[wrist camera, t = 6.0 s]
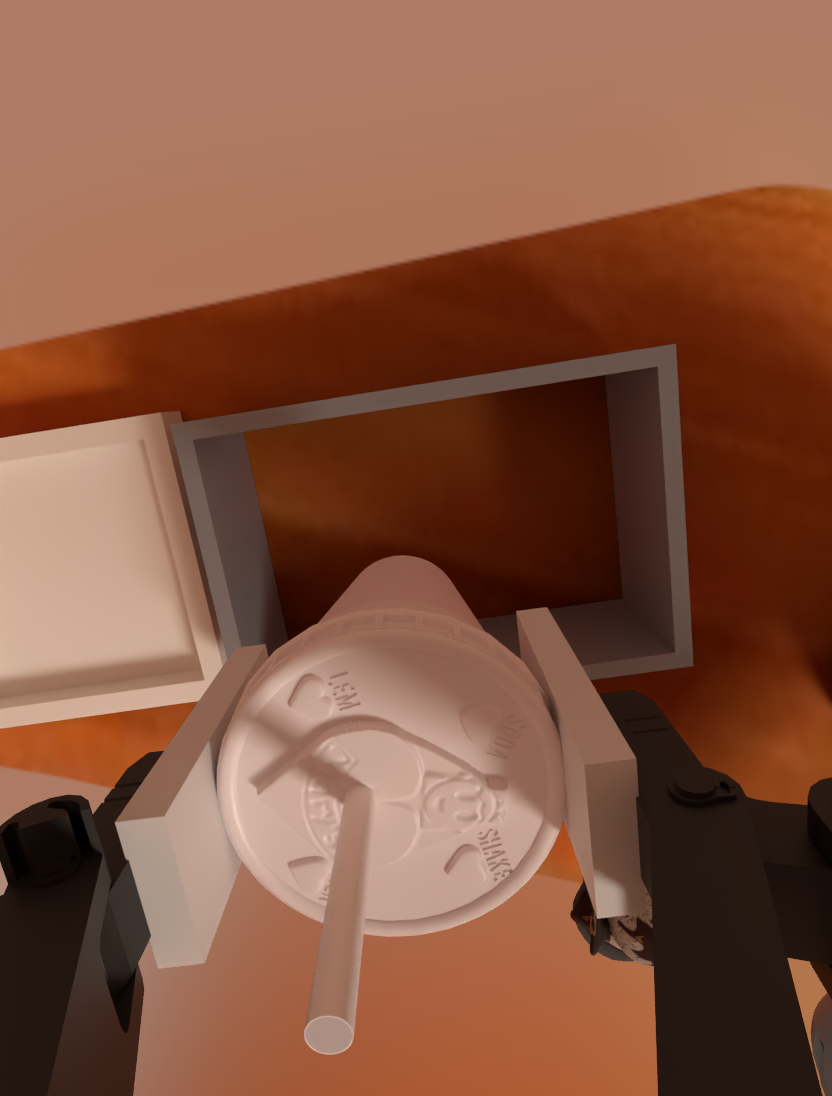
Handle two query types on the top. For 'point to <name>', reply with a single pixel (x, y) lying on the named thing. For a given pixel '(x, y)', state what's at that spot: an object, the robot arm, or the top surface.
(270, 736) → the smoothie
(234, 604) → the deep bin
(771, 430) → the top surface
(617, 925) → the sundae
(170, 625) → the tray
